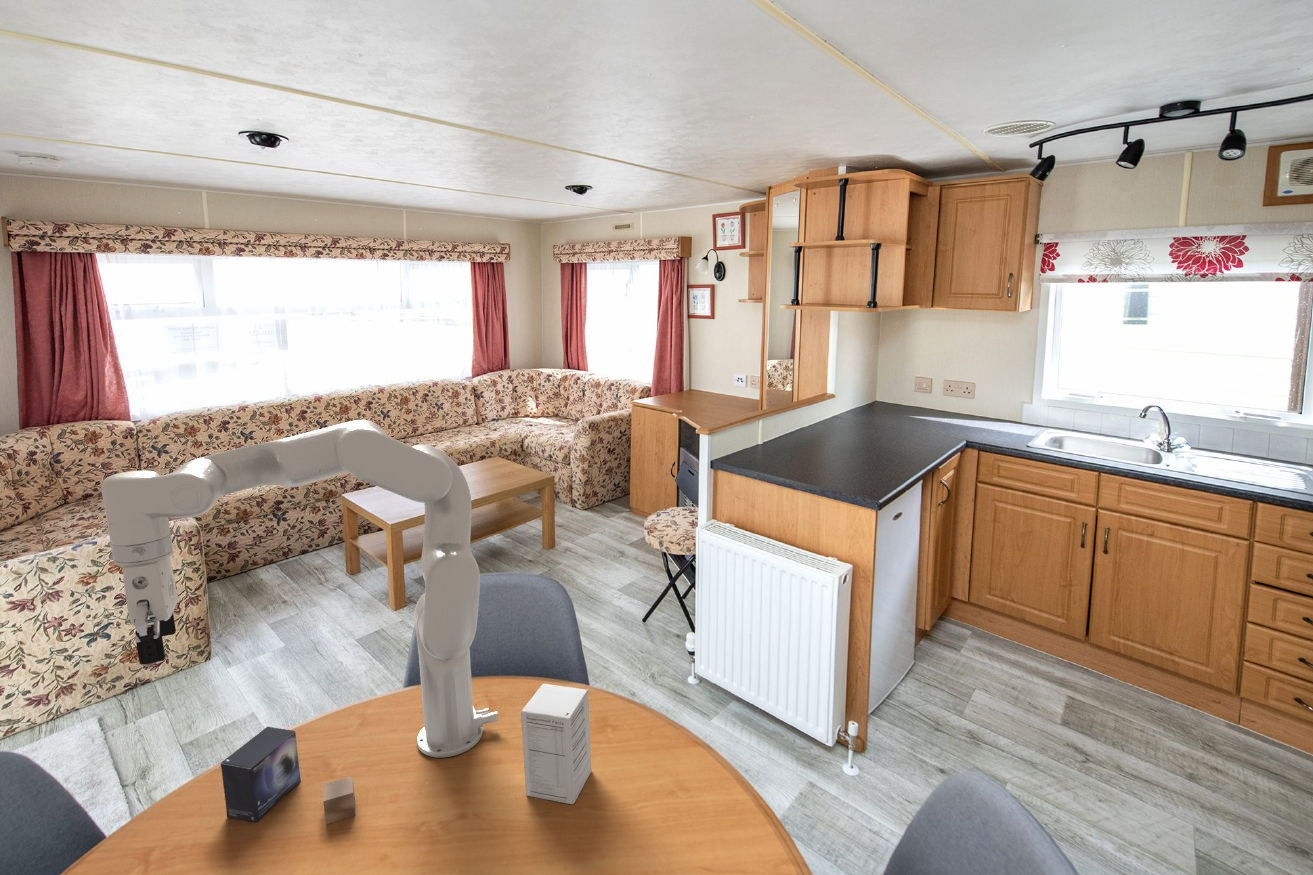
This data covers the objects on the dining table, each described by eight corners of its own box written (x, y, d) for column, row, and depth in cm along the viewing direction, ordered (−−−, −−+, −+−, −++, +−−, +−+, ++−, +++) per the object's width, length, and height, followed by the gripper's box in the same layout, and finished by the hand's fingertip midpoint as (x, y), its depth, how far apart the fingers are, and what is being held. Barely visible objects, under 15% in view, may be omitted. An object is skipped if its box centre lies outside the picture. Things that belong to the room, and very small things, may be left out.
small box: (258, 824, 109) (250, 768, 107) (225, 818, 110) (217, 763, 108) (303, 780, 119) (297, 729, 117) (273, 775, 121) (266, 725, 119)
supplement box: (593, 770, 121) (590, 688, 118) (574, 806, 113) (571, 718, 110) (545, 761, 124) (542, 681, 121) (524, 795, 115) (519, 710, 112)
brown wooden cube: (355, 798, 115) (352, 775, 114) (355, 815, 111) (352, 792, 110) (326, 806, 113) (323, 783, 112) (326, 824, 109) (323, 801, 108)
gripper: (161, 562, 97) (178, 667, 101) (180, 529, 112) (194, 621, 116) (97, 572, 94) (116, 679, 97) (126, 536, 109) (141, 631, 112)
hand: (158, 648), depth 106 cm, fingers open, 9 cm apart
